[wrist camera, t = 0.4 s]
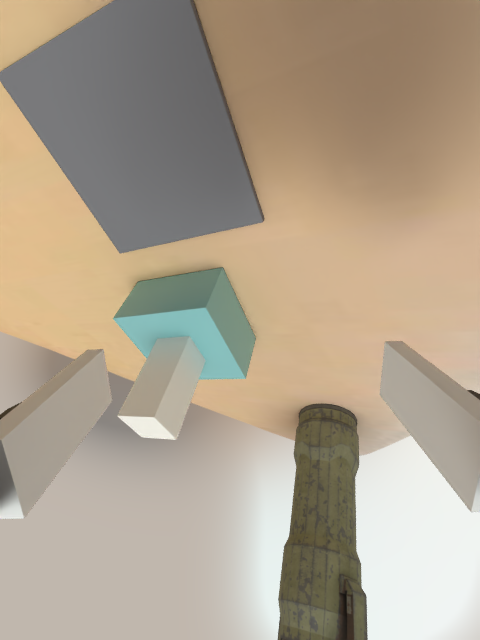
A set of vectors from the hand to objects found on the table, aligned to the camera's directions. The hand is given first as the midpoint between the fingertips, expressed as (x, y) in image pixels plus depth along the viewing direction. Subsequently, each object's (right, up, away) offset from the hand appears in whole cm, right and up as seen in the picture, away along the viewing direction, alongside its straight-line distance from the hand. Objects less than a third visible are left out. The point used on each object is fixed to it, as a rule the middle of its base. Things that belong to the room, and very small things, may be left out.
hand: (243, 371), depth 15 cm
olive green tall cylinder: (+13, -13, +35) cm, 40 cm away
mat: (-8, +16, +11) cm, 21 cm away
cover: (-5, +4, +24) cm, 24 cm away
